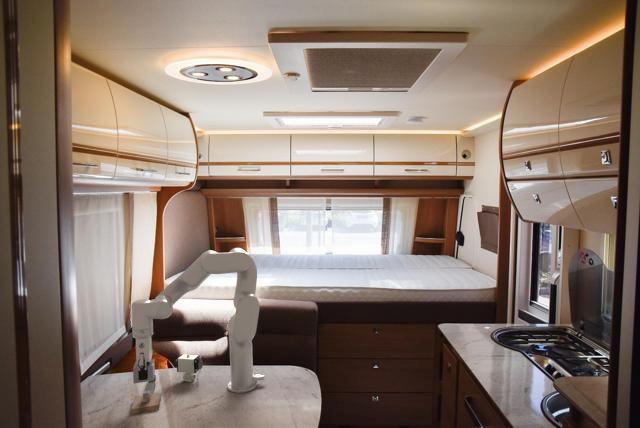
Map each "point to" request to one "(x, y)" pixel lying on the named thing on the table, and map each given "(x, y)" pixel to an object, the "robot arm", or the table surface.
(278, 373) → the table surface
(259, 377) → the robot arm
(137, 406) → the mallet
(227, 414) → the table surface
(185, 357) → the pneumatic valve
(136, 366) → the hollow grey cube
